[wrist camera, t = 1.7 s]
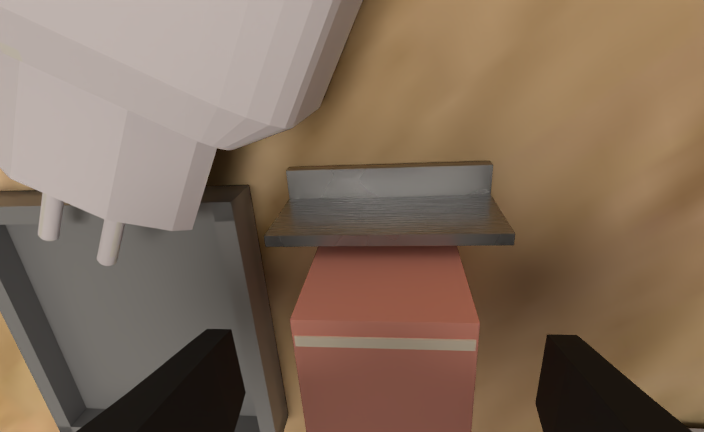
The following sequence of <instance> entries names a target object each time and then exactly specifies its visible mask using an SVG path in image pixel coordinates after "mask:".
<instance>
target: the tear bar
mask: <svg viewBox="0 0 704 432" xmlns="http://www.w3.org/2000/svg"><path fill="white" fill-rule="evenodd" d="M492 171H493V164H492V163H491V162H490V161H476V162H443V163H410V164H377V165H344V166H311V167H289V168H288V169H287V170H286V174H287V181H288V189H289V197H290V199H289V201H288V202H287V204H286V205H285V207H284V208H283V209H282V211H281V212H280V214H279V215H278V217H277V218H276V219H275V221H274V222H273V224H272V225H271V227H270V228H269V229H268V231H267V232H266V234H265V235H264V240H265V246H266V247H299V246H471V245H514V240H515V233H514V231H513V229H512V228H511V226H510V225H509V223H508V222H507V220H506V218H505V217H504V215H503V214H502V212H501V211H500V209H499V207H498V206H497V204H496V203H495V201H494V200H493V198H492V196H491V183H492Z"/></svg>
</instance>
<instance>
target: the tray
mask: <svg viewBox="0 0 704 432" xmlns="http://www.w3.org/2000/svg"><path fill="white" fill-rule="evenodd" d="M41 201H42V192H40V191H38V190H35V191H0V312H1V314H2V316H3V318H4V320H5V322H6V324H7V326H8V328H9V330H10V332H11V334H12V336H13V338H14V340H15V342H16V344H17V346H18V348H19V350H20V352H21V354H22V356H23V358H24V360H25V362H26V364H27V366H28V368H29V370H30V372H31V374H32V376H33V378H34V380H35V382H36V384H37V386H38V388H39V390H40V392H41V394H42V396H43V398H44V400H45V402H46V404H47V406H48V408H49V410H50V412H51V414H52V416H53V418H54V420H55V422H56V424H57V426H58V428H59V430H60V432H76V431H77V430H79V429H80V428H81V427H83V426H84V425H85V424H87V423H88V422H89V421H91V420H92V419H93V418H95V417H96V416H97V415H99V414H100V413H101V412H103V411H104V410H105V409H107V408H108V407H109V406H111V405H112V404H113V403H115V402H116V401H117V400H119V399H120V398H121V397H123V396H124V395H125V394H127V393H128V392H129V391H130V390H132V389H133V388H134V387H135V386H137V385H138V384H139V383H140V382H142V381H143V380H144V379H145V378H147V377H148V376H149V375H150V374H152V373H153V372H154V371H155V370H157V369H158V368H159V367H160V366H161V365H163V364H164V363H165V362H166V361H168V360H169V359H170V358H171V357H172V356H174V355H175V354H176V353H177V352H179V351H180V350H181V349H182V348H183V347H185V346H186V345H187V344H188V343H190V342H191V341H192V340H193V339H195V338H196V337H197V336H198V335H200V334H201V333H202V332H204V331H205V330H206V329H231V330H232V334H233V339H234V343H235V347H236V352H237V356H238V361H239V365H240V370H241V374H242V378H243V383H244V387H245V392H246V394H245V397H244V401H243V404H242V408H241V411H240V415H239V418H238V421H237V425H236V428H235V431H234V432H284V428H285V425H286V422H287V418H288V411H287V405H286V399H285V393H284V387H283V382H282V376H281V370H280V364H279V358H278V352H277V347H276V341H275V335H274V329H273V323H272V317H271V312H270V306H269V300H268V294H267V288H266V282H265V277H264V271H263V265H262V259H261V253H260V247H259V242H258V236H257V230H256V224H255V218H254V212H253V206H252V201H251V195H250V189H249V185H234V186H205V189H204V193H203V196H202V199H201V202H200V206H199V209H198V212H197V215H196V219H195V222H194V225H193V229H192V230H182V231H168V230H162V229H157V228H151V227H145V226H139V225H133V224H127V223H125V228H124V232H123V237H122V241H121V246H120V250H119V255H118V259H117V263H116V264H114V265H111V266H104V265H101V264H100V263H99V262H98V261H97V254H98V249H99V244H100V239H101V234H102V229H103V224H104V219H102V218H100V217H98V216H95V215H93V214H91V213H89V212H86V211H84V210H82V209H79V208H77V207H75V206H72V205H70V204H68V203H65V202H64V207H63V214H62V221H61V228H60V235H59V238H58V239H57V240H54V241H45V240H42V239H41V238H40V237H39V236H38V226H39V218H40V210H41Z"/></svg>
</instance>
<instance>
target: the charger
mask: <svg viewBox="0 0 704 432" xmlns="http://www.w3.org/2000/svg"><path fill="white" fill-rule="evenodd" d="M362 1H363V0H0V168H1V169H2V170H3V171H4V173H5V174H6V175H7V176H8V177H9V178H10V179H12V180H14V181H17V182H19V183H21V184H24V185H26V186H28V187H31V188H33V189H35V190H38V191H40V192H42V201H41V210H40V218H39V226H38V236H39V237H40V238H41V239H42V240H45V241H54V240H57V239H58V238H59V235H60V228H61V221H62V214H63V207H64V202H65V203H68V204H70V205H72V206H75V207H77V208H79V209H82V210H84V211H86V212H89V213H91V214H93V215H95V216H98V217H100V218H102V219H104V224H103V229H102V234H101V239H100V244H99V249H98V254H97V261H98V262H99V263H100V264H101V265H104V266H111V265H114V264H116V263H117V259H118V255H119V250H120V246H121V241H122V237H123V232H124V228H125V223H127V224H133V225H139V226H145V227H151V228H157V229H162V230H168V231H182V230H192V229H193V225H194V222H195V219H196V215H197V212H198V209H199V206H200V202H201V199H202V196H203V193H204V189H205V186H206V183H207V180H208V176H209V173H210V170H211V167H212V163H213V160H214V157H215V153H216V150H217V148H219V149H223V150H234V149H237V148H240V147H242V146H245V145H248V144H250V143H253V142H256V141H259V140H261V139H264V138H267V137H269V136H272V135H275V134H278V133H280V132H283V131H286V130H288V129H291V128H293V127H294V126H296V125H297V124H298V123H300V122H301V121H302V120H304V119H305V118H307V117H308V116H309V115H311V114H312V113H313V112H315V111H316V110H317V109H319V108H320V105H321V103H322V100H323V98H324V95H325V93H326V90H327V88H328V85H329V83H330V80H331V78H332V75H333V73H334V70H335V68H336V65H337V63H338V61H339V58H340V56H341V53H342V51H343V48H344V46H345V43H346V41H347V38H348V36H349V33H350V31H351V28H352V26H353V23H354V21H355V18H356V16H357V13H358V11H359V8H360V6H361V3H362Z"/></svg>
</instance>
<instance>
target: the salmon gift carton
mask: <svg viewBox="0 0 704 432" xmlns="http://www.w3.org/2000/svg"><path fill="white" fill-rule="evenodd" d="M290 324H291V331H292V338H293V345H294V351H295V358H296V365H297V371H298V378H299V385H300V392H301V398H302V405H303V412H304V418H305V425H306V432H471V426H472V414H473V402H474V390H475V378H476V365H477V353H478V341H479V329H480V322H479V318H478V315H477V312H476V308H475V305H474V302H473V298H472V295H471V292H470V288H469V285H468V282H467V279H466V275H465V272H464V269H463V265H462V262H461V259H460V255H459V252H458V249H457V246H319V247H318V249H317V252H316V254H315V257H314V259H313V262H312V264H311V267H310V270H309V272H308V275H307V277H306V280H305V282H304V285H303V287H302V290H301V293H300V295H299V298H298V300H297V303H296V305H295V308H294V310H293V313H292V316H291V318H290Z"/></svg>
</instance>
